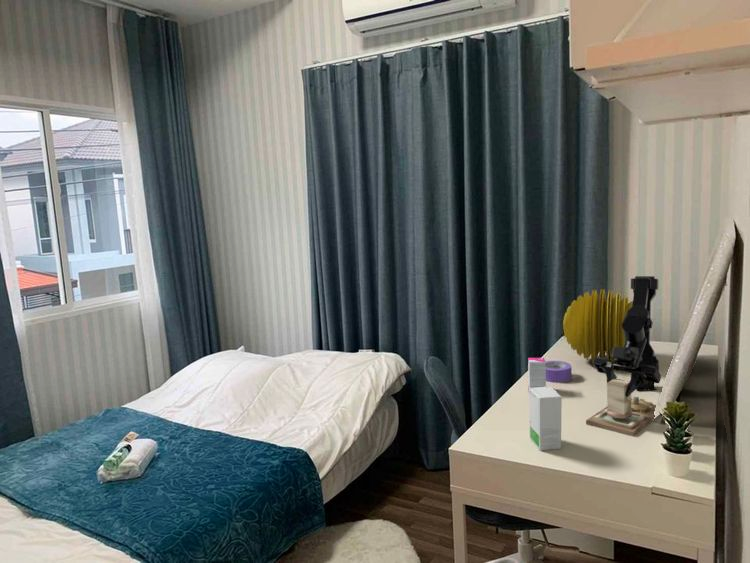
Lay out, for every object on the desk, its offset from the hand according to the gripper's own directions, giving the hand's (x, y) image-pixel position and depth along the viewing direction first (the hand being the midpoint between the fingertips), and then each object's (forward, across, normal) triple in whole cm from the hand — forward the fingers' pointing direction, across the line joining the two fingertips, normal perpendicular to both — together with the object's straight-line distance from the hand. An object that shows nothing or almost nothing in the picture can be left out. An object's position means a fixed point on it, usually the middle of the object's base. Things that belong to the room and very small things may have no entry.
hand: (617, 394), depth 167 cm
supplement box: (-1, -34, +15) cm, 37 cm away
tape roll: (-12, -36, +26) cm, 46 cm away
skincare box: (+24, -9, -11) cm, 28 cm away
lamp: (-32, -30, +45) cm, 63 cm away
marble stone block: (+4, 0, +6) cm, 7 cm away
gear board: (+2, 0, +11) cm, 11 cm away
